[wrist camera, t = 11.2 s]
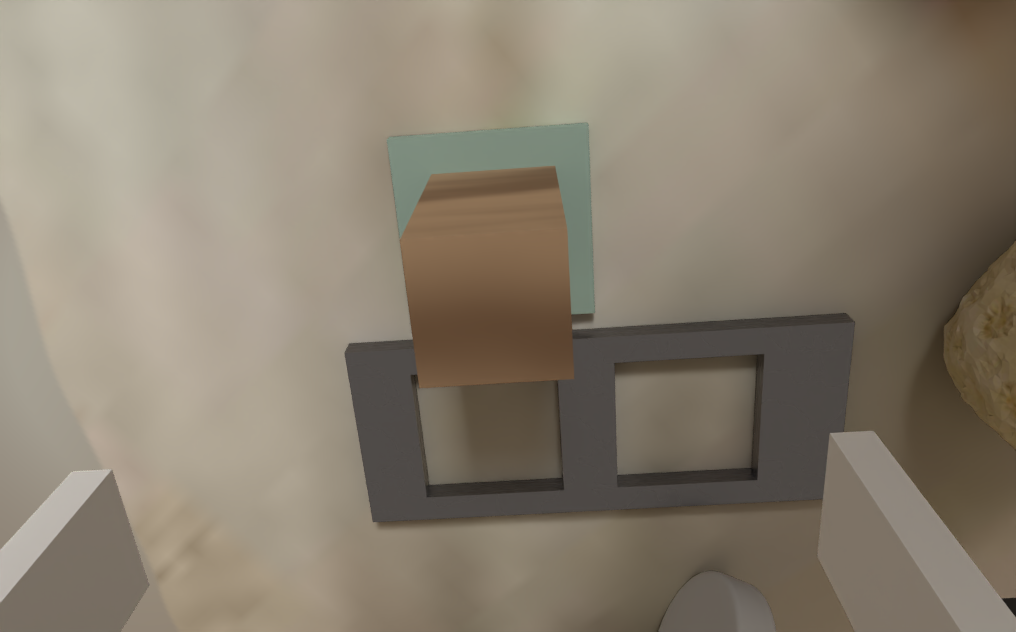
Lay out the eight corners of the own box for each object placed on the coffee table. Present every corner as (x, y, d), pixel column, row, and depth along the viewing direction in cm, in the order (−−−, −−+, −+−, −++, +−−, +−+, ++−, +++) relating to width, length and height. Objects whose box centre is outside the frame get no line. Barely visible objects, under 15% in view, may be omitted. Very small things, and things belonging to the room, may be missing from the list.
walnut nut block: (431, 174, 32) (399, 239, 24) (555, 165, 32) (567, 228, 23) (444, 290, 34) (419, 388, 25) (560, 282, 34) (574, 378, 25)
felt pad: (389, 137, 32) (386, 139, 31) (587, 122, 32) (588, 125, 31) (412, 318, 35) (411, 324, 34) (593, 308, 35) (594, 312, 34)
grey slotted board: (349, 343, 36) (344, 353, 35) (845, 313, 35) (854, 322, 34) (376, 509, 39) (373, 522, 38) (828, 485, 38) (836, 498, 37)
